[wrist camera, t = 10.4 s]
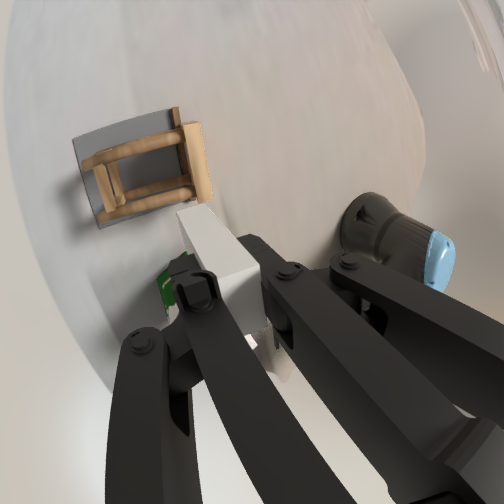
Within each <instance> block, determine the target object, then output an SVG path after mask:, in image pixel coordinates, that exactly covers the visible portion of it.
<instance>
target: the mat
mask: <svg viewBox="0 0 504 504" xmlns="http://www.w3.org/2000/svg"><path fill="white" fill-rule="evenodd" d="M168 130H172V125H171V120H170V114H169V109H166V110H161V111H157V112H153V113H150V114H146V115H142V116H139V117H135V118H132V119H128V120H125V121H122V122H119V123H115V124H112V125H109V126H106V127H103V128H101V129H98V130H95V131H92V132H90V133H87V134H84V135H82V136H79V137H77V138H74V139H73V142H74V146H75V150H76V154H77V158H78V162H79V166H80V170H81V173H82V177H83V180H84V184H85V187H86V190H87V193H88V197H89V200H90V203H91V206H92V209H93V212H94V215H95V217H96V220H97V223H98V226H99V229H102V228H105V227H107V226H110V225H113V224H116V223H119V222H121V221H124V220H127V219H130V218H133V217H136V216H139V215H142V214H145V213H148V212H151V211H154V210H157V209H161V208H164V207H167V206H170V205H173V204H177V203H180V202H183V201H187V199H186V200H182V201H178V202H174V203H170V204H167V205H163V206H159V207H156V208H152V209H148V210H145V211H141V212H138V213H135V214H131V215H128V216H124V217H121V218H118V219H115V220H111V221H108V222H105V223H102V224H101V223H100V222H99V220H98V212H101V211H104V210H105V207H104V204H103V200H102V197H101V194H100V191H99V187H98V184H97V181H96V177H95V173H94V170H93V169H91V170H88V171H86V172H84V171H83V169H82V164H81V162H82V160H84V159H87V158H89V157H92V156H95V155H96V152H98V151H101V150H104V149H107V148H110V147H113V146H116V145H119V144H122V143H125V142H128V141H132V140H135V139H139V138H142V137H146V136H149V135H153V134H157V133H160V132H164V131H168ZM117 165H118V169H119V172H120V176H121V180H122V183H123V187H124V191H127V190H131V189H134V188H137V187H141V186H144V185H148V184H151V183H155V182H158V181H162V180H166V179H170V178H174V177H177V176H181V170H180V165H179V161H178V156H177V151H176V146H175V144H174V145H170V146H166V147H162V148H158V149H154V150H151V151H147V152H144V153H140V154H137V155H133V156H130V157H127V158H124V159H120V160H117ZM105 167H106V171H107V175H108V178H109V182H110V185H111V189H112V192H113V195H114V194H115V191H114V188H113V184H112V181H111V177H110V174H109V170H108V166H107V164H105ZM180 188H184V185H183V186H179V187H175V188H171V189H167V190H163V191H160V192H156V193H152V194H149V195H145V196H142V197H138V198H135V199H132V200H128V201H125V203H124V204H126V203H130V202H133V201H136V200H140V199H143V198H147V197H150V196H154V195H158V194H161V193H165V192H169V191H172V190H176V189H180Z"/></svg>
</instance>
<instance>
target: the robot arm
mask: <svg viewBox="0 0 504 504" xmlns="http://www.w3.org/2000/svg"><path fill="white" fill-rule="evenodd" d="M176 213H177V217H178V221H179V225H180V228H181V232H182V236H183V239H184V243H185V247H186V250H187V254H188V255H186V256H183V257H180V258H177V259H174V260H171V261H170V263H169V266H168V272H169V275H170V279H171V282H172V293H173V296H174V299H175V301H176V304H177V306H178V309H179V313H178V315H177V317H176V319H175V320H174V321H173V322H172V323H171V324H170V325H169V326H167V327H166V328H164V329H163V330H161V331H159V330H158V329H155V328H153V327H144V328H141V329H137V330H135V331H134V332H132V333H130V334H129V335H128V336H127V337H126V339H125V340H124V342H123V344H122V346H121V351H120V356H119V361H118V366H117V372H116V378H115V384H114V390H113V397H112V404H111V411H110V420H109V429H108V440H107V453H106V471H105V472H106V473H105V504H203V501H202V495H201V487H200V479H199V471H198V463H197V452H196V442H195V430H194V416H193V403H192V402H193V401H192V389H191V388H192V387H194V386H195V385H196V384H198V383H199V382H201V381H202V380H203V379H204V380H205V383H206V385H207V388H208V390H209V392H210V395H211V397H212V400H213V402H214V404H215V407H216V409H217V411H218V414H219V416H220V418H221V420H222V423H223V425H224V427H225V429H226V431H227V434H228V436H229V437H230V440H231V442H232V444H233V446H234V448H235V450H236V452H237V454H238V456H239V458H240V460H241V462H242V464H243V466H244V468H245V470H246V472H247V474H248V476H249V478H250V479H251V481H252V483H253V485H254V487H255V489H256V490H257V492H258V494H259V496H260V497H261V499H262V501H263V503H264V504H357V503H356V501H355V500H354V499H353V498H352V496H351V495H350V494H349V492H348V491H347V490H346V489H345V487H344V486H343V484H342V483H341V482H340V480H339V479H338V478H337V477H336V475H335V474H334V472H333V471H332V470H331V468H330V467H329V466H328V464H327V463H326V462H325V460H324V458H323V457H322V456H321V454H320V453H319V452H318V450H317V449H316V447H315V446H314V444H313V443H312V441H311V440H310V439H309V437H308V436H307V434H306V433H305V431H304V430H303V428H302V427H301V425H300V424H299V422H298V421H297V419H296V418H295V416H294V415H293V414H292V412H291V410H290V409H289V407H288V406H287V404H286V403H285V401H284V400H283V398H282V397H281V395H280V393H279V392H278V390H277V389H276V387H275V386H274V384H273V382H272V381H271V379H270V378H269V376H268V375H267V373H266V371H265V370H264V368H263V366H262V365H261V363H260V362H259V360H258V358H257V357H256V355H255V353H254V352H253V350H252V348H251V347H250V345H249V343H248V342H247V340H246V338H245V337H244V336H246V335H248V334H251V333H253V332H256V331H258V330H261V329H263V328H265V327H268V324H267V317H268V319H269V320H270V321H271V323H272V325H273V334H274V343H275V347H276V350H277V349H279V342H280V344H281V345H282V347H283V348H284V349H285V351H286V352H287V354H288V355H289V356H290V358H291V359H292V361H293V362H294V363H295V365H296V366H297V367H298V369H299V370H300V371H301V373H302V374H303V376H304V377H305V378H306V380H307V381H308V382H309V384H310V385H311V386H312V388H313V389H314V390H315V392H316V393H317V395H318V396H319V397H320V398H321V400H322V401H323V403H324V404H325V405H326V406H327V408H328V409H329V410H330V412H331V413H332V414H333V416H334V417H335V418H336V419H337V421H338V422H339V423H340V425H341V426H342V427H343V429H344V430H345V431H346V433H347V434H348V435H349V436H350V438H351V439H352V440H353V441H354V443H355V444H356V445H357V447H358V448H359V449H360V451H361V452H362V453H363V454H364V456H365V457H366V458H367V459H368V460H369V462H370V463H371V464H372V465H373V467H374V468H375V469H376V470H377V472H378V473H379V474H380V475H381V477H382V478H383V479H384V480H385V482H386V483H387V486H388V492H389V495H390V497H391V498H392V500H393V501H394V502H395V503H396V504H504V325H503V324H501V323H499V322H498V321H496V320H494V319H492V318H490V317H488V316H486V315H484V314H482V313H481V312H479V311H477V310H475V309H473V308H471V307H469V306H467V305H465V304H463V303H461V302H459V301H457V300H455V299H453V298H451V297H449V296H447V295H445V294H443V293H442V292H443V291H444V289H445V287H446V285H447V283H448V281H449V278H450V276H451V273H452V270H453V266H454V261H455V247H454V244H453V242H452V241H451V240H450V239H449V238H447V237H446V236H444V235H443V234H441V233H440V232H439V231H438V230H434V229H432V228H430V227H428V226H426V225H425V224H423V223H420V222H418V221H416V220H414V219H412V218H410V217H408V216H406V215H404V214H402V213H400V212H399V211H398V210H397V209H396V208H395V207H394V206H393V205H392V204H391V203H390V202H389V201H388V200H387V199H386V198H385V197H384V196H382V195H379V194H377V193H374V192H368V193H364V194H362V195H361V196H359V197H358V198H357V199H355V200H354V201H353V203H352V204H351V205H350V206H349V208H348V210H347V211H346V213H345V215H344V218H343V221H342V224H341V230H340V239H341V244H342V246H343V248H344V249H345V251H346V252H344V253H339V254H337V255H335V256H333V257H332V258H331V260H330V268H324V269H318V270H308V269H307V268H306V267H305V266H303V265H302V264H300V263H296V262H286V261H285V260H284V259H283V258H282V257H281V256H280V255H279V254H277V253H276V252H275V251H274V250H273V249H272V248H270V246H269V245H268V244H266V242H264V241H263V240H262V239H261V238H260V237H258V236H255V235H252V234H248V235H245V236H242V237H238V238H235V237H234V235H233V234H232V233H231V232H230V231H229V230H228V229H227V228H226V227H225V225H224V224H223V223H222V222H221V221H220V220H219V219H218V218H217V216H216V215H215V214H214V213H213V212H212V211H211V210H210V209H209V208H208V206H207V205H206V204H205V203H202V204H199V205H196V206H192V207H189V208H186V209H182V210H179V211H176ZM266 316H267V317H266Z"/></svg>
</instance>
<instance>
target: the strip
mask: <svg viewBox="0 0 504 504" xmlns="http://www.w3.org/2000/svg"><path fill="white" fill-rule="evenodd" d="M171 110H172V116H173V121H174V127H175V129H177V128H181V126H180V124H181V120H180V115H179V109H178V107H173V108H171ZM178 148H179V153H180V158H181V162H182V167H183V172H184V175H185V174H190V172H189V167H188V162H187V157H186V152H185V147H184V142H182V143H178ZM186 186H187V187H188V186H192V183H191V184H187V185H186ZM194 200H196V197H194V198H190V201H194Z"/></svg>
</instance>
